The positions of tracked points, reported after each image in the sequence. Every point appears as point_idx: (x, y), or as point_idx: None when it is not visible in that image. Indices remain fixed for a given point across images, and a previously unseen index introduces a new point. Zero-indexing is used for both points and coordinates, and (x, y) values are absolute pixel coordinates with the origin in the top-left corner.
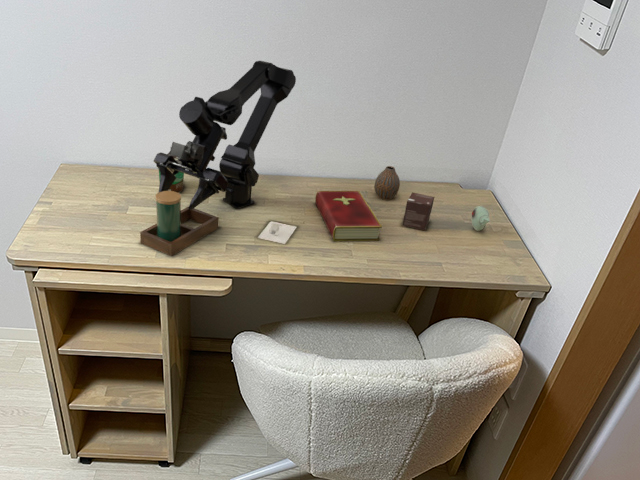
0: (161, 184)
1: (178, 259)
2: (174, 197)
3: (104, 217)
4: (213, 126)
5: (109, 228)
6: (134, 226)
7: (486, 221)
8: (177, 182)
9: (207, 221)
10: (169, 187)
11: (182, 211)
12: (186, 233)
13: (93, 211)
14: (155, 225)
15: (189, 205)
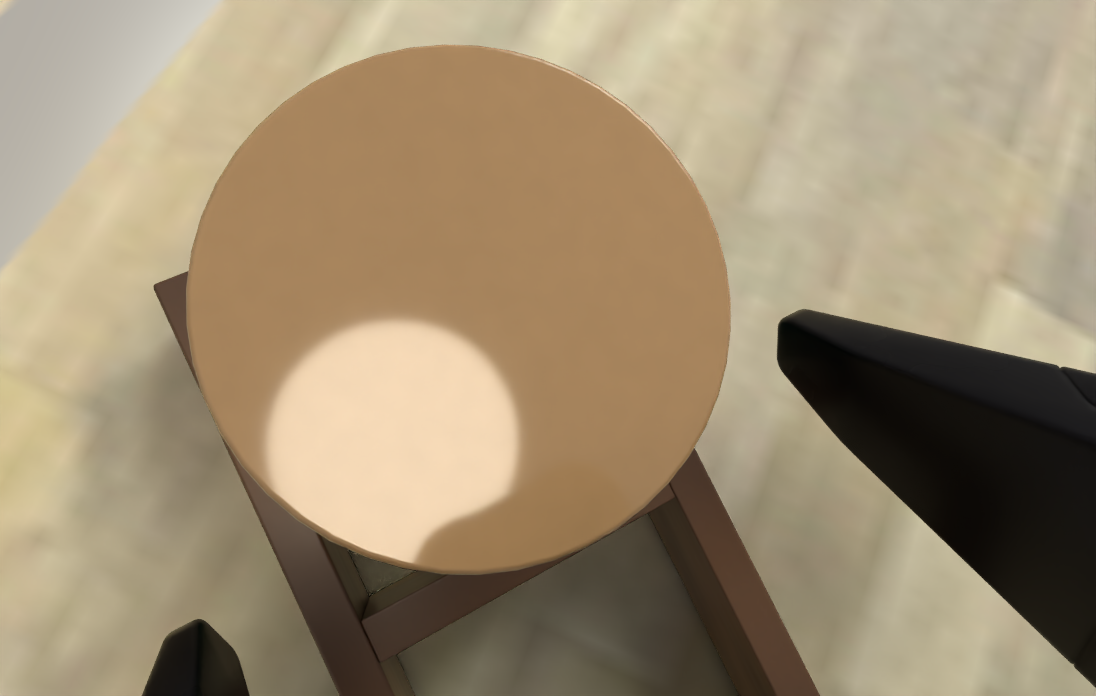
0: (999, 380)
1: (110, 344)
2: (350, 381)
3: (986, 117)
4: None
5: (822, 80)
6: (793, 251)
7: None
8: None
9: None
10: (977, 566)
11: (789, 694)
12: (309, 533)
13: (1087, 89)
14: None
15: (186, 652)
